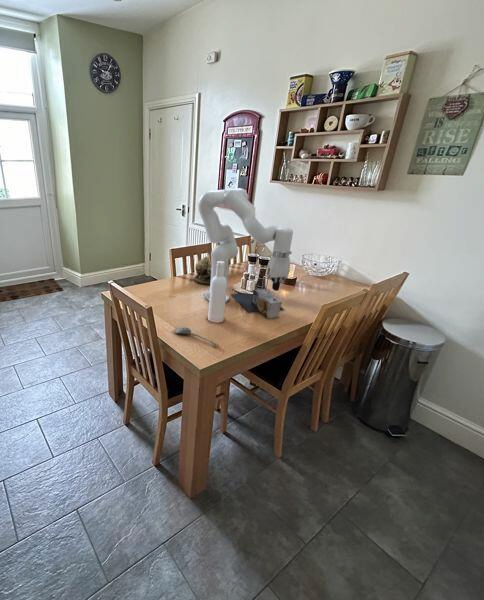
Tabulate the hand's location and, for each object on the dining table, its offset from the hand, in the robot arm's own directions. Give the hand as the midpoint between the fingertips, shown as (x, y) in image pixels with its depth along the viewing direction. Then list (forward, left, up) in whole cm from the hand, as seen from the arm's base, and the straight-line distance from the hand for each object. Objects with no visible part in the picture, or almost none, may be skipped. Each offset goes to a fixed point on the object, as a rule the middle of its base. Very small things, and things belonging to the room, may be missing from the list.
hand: (275, 289), depth 164 cm
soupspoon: (-46, -16, -15) cm, 51 cm away
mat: (0, +17, -14) cm, 22 cm away
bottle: (-30, 0, -15) cm, 33 cm away
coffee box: (0, -3, -10) cm, 10 cm away
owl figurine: (-18, +54, -15) cm, 59 cm away
